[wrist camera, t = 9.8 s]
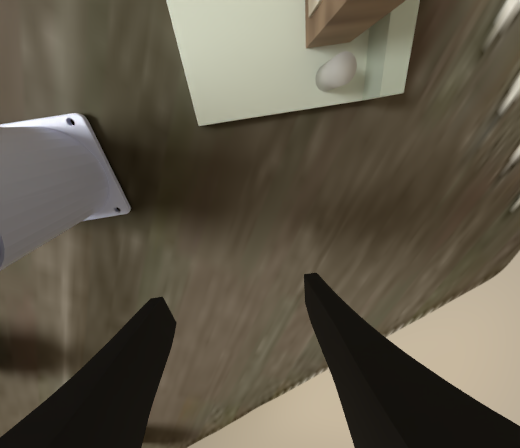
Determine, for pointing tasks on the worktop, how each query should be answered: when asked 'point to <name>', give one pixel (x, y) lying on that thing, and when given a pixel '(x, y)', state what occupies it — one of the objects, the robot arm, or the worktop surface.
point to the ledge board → (283, 58)
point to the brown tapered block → (342, 19)
